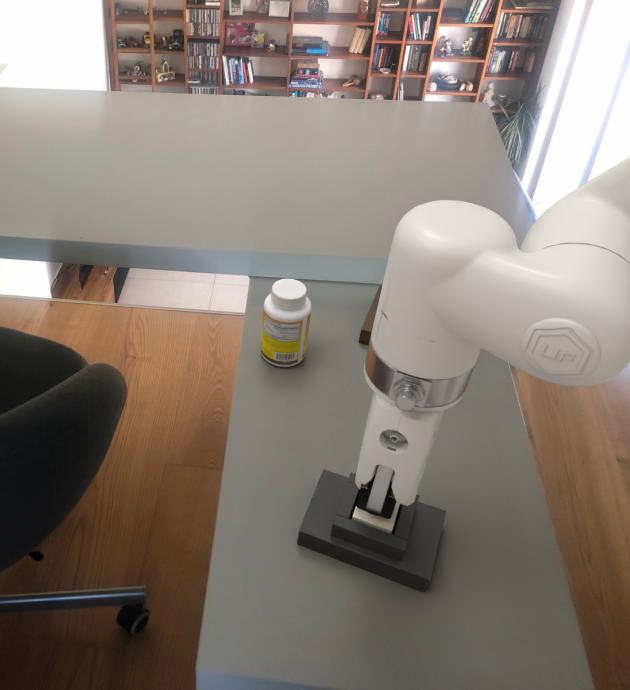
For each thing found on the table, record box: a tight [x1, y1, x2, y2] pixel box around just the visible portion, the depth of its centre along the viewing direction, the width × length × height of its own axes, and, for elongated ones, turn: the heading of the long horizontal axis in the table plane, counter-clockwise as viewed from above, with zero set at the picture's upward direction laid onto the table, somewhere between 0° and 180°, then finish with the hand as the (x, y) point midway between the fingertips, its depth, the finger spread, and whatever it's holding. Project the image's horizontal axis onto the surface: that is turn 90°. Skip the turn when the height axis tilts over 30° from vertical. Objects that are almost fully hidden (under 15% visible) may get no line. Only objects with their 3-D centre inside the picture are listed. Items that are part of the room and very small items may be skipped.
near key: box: [352, 502, 400, 534], centre depth 64 cm, size 4×4×2 cm
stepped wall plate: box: [296, 468, 447, 593], centre depth 65 cm, size 12×8×4 cm, turn 64°
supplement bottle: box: [260, 278, 312, 368], centre depth 83 cm, size 6×6×10 cm
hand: (375, 507), depth 64 cm, fingers closed
